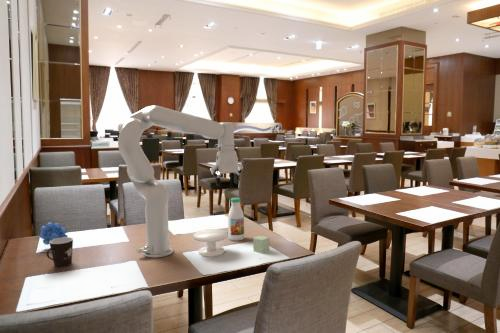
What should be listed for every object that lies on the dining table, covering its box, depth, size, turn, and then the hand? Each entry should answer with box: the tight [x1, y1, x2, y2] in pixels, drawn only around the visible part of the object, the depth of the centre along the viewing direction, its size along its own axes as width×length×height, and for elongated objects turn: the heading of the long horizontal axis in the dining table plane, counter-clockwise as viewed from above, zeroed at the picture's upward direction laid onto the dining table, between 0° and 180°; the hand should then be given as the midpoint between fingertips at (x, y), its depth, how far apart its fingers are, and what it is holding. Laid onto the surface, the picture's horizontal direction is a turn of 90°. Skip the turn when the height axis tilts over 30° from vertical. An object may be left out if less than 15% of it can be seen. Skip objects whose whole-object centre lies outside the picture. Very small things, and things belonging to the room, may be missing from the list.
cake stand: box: [193, 228, 229, 258], centre depth 168 cm, size 15×15×8 cm
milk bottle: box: [227, 197, 245, 242], centre depth 186 cm, size 8×8×20 cm
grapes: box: [38, 222, 69, 246], centre depth 178 cm, size 12×7×12 cm, turn 120°
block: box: [252, 235, 270, 254], centre depth 169 cm, size 5×5×6 cm
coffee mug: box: [46, 236, 74, 268], centre depth 156 cm, size 12×9×10 cm
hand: (227, 184), depth 183 cm, fingers open, 9 cm apart
